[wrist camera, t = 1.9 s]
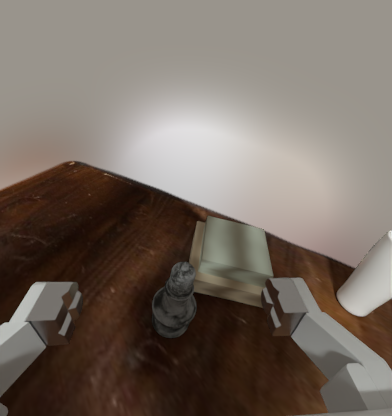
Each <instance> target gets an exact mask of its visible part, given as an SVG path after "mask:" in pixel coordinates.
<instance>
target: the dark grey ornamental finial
mask: <svg viewBox="0 0 392 416" xmlns="http://www.w3.org/2000/svg"><path fill="white" fill-rule="evenodd" d="M195 276H196V271H195V268H194V267H193V266H192V265H191V264H190V263H188V262H179V263H177V264H175V265H174V266H173V268H172V270H171V274H170V278H168V279H167V281H166V283H165V287H163V288H161V289H160V290H159V291H157V293H156V294H155V296H154V298H153V301H152V310H153V314H152V324H153V327H154V329H155V331H156V332H157V333H158V334H160V335H161V336H163V337H166V338H176V337H179V336H180V335H182V334H183V333H184V332H185V331H186V330H187V328H188V325H189V323H190V321H191V320H192V319H193V318H194V316H195V314H196V308H197V306H196V301H195V298H194V296H193V293H194V285H193V283H194V280H195Z"/></svg>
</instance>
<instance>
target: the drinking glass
mask: <svg viewBox="0 0 392 416" xmlns="http://www.w3.org/2000/svg"><path fill="white" fill-rule="evenodd" d="M337 299H338V301H339V303H340V304H341V305H342V307H343V308H344V309H346V310H347V311H348V312H350V313H351V314H353V315H356V316H361V317H362V316H366V315H368V314H369V313H370V312H371V311H373V310H374V309H376V308H377V307H379V306H380V305H382V304H384V303H385V302H387V301H388V300H390V299H392V230H390V231H388V232H387V233H386V234H385V235H384V236H383V237H382V238H381V239H380V240H379V241H378V242H377V243H376V244H375V245H374V246H373V247H372V248H371V249H370V251H369V252H368V253H367V254H366V256H365V257H364V258H363V260H362V261H361V262H360V263H359V265H358V266H357V267H356V269H355V270H354V271H353V273H352V274H351V275H350V277H349V278H348V279H347V280H346V282H345V283H344V284H343V285H342V286H341V287H340V288H339V290H338V291H337Z"/></svg>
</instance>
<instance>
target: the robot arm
mask: <svg viewBox="0 0 392 416" xmlns="http://www.w3.org/2000/svg"><path fill="white" fill-rule="evenodd" d="M265 285H266V287H265V288H264V289H262V292H261V303H262V307H263V310H264V312H265V313H267V314H268V315H269V316H268V319H267V323H268V326H269V329H270V332H271V335H272V336H291V338H292V339H293V340H294V341H295V342H296V343H297V344H298V346H299V347H300V348H301V349H302V350H303V351H304V352H305V353H306V355H307V356H308V357H309V358H310V359H311V360H312V361H313V363H314V364H315V365H316V366H317V367H318V368H319V369H320V370H321V372H322V373H323V374H324V375H325V376H326V377H327V378H328V380H329V381H328V382H327V383H326V384H325V385H324V386H323V387H322V388H321V390H320V392H321V395H322V397H323V400H324V402H325V405H326V407H327V410H328V412H329V413H322V414H308V415H295V416H392V371H391V369H390V368H389V366H388V365H387V363H386V362H385V360H383V359H382V358H381V357H380V356H378V355H377V354H376V353H375V352H374V351H372V350H371V349H370V348H369V347H367V346H366V345H365V344H364V343H362V342H361V341H360V340H359V339H357V338H356V337H355V336H354V335H352V334H351V333H350V332H349V331H347V330H346V329H345V328H344V327H342V326H341V325H340V324H339V323H337V322H336V321H335V320H334V319H332V318H331V317H330V316H329V315H327V314H326V313H325V312H321V311H320V309H319V307H318V305H317V303H316V301H315V300H314V298H313V296H312V294H311V292H310V291H309V289H308V287H307V285H306V283H305V282H304V280H303V279H302V278H268V279H267V280H266V282H265ZM78 287H79V286H78V284H77V282H35V283H34V284H33V285H32V286H31V287H30V289H29V291H28V292H27V294H26V295H25V297H24V299H23V300H22V302H21V304H20V305H19V307H18V308H17V310H16V312H15V313H14V315H13V316H12V318H11V320H10V321H9V322H5V323H3V324H2V325H1V326H0V397H1V396H2V395H3V393H4V392H5V391H6V390H7V389H8V388H9V387H10V386H11V385H12V384H13V383H14V382H15V381H16V379H17V378H18V377H19V376H20V375H21V374H22V373H23V372H24V371H25V370H26V369H27V368H28V366H29V365H30V364H31V363H32V362H33V361H34V360H35V359H36V358H37V357H38V356H39V355H40V353H41V352H42V351H43V350H44V349H45V348H46V346H51V345H65V344H69V343H70V340H71V338H72V335H73V332H74V330H75V324H74V321H75V320H76V319H77V318H78V317H79V316H80V313H81V310H82V305H83V297H82V294H81V293H80V292H78V291H77V290H78ZM7 414H8V409H7V407H6V406H4V405H3V404H1V403H0V416H7Z"/></svg>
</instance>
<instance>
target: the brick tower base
mask: <svg viewBox="0 0 392 416" xmlns="http://www.w3.org/2000/svg"><path fill="white" fill-rule="evenodd" d="M189 263H190V264H191V265H192V266H193V267H194V268H195V271H196V276H195V280H194V283H193V285H194V292H198V293H202V294H206V295H211V296H215V297H219V298H223V299H228V300H232V301H236V302H240V303H245V304H249V305H253V306H257V307H262V303H261V292H262V289H264V288H265V287H266V285H265V282H266V280H267V279H268V278H273V272H272V267H271V262H270V257H269V252H268V247H267V243H266V238H265V233H264V229H260V228H256V227H252V226H248V225H244V224H240V223H236V222H232V221H228V220H224V219H220V218H215V217H211V216H207V219H206V223H204V222H200V221H197V224H196V228H195V232H194V237H193V242H192V247H191V253H190V258H189ZM262 308H263V307H262Z"/></svg>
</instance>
